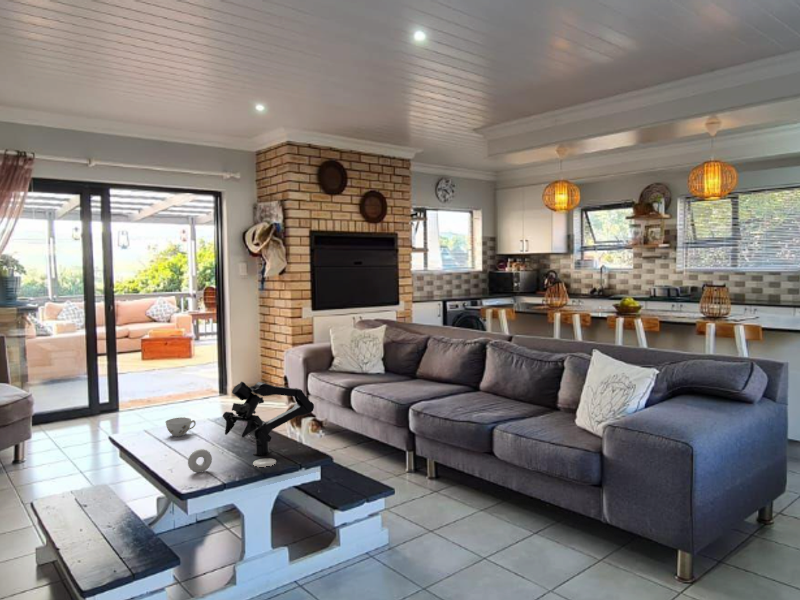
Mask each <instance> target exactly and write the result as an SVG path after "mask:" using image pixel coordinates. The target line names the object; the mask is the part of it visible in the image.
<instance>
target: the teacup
mask: <svg viewBox="0 0 800 600" xmlns="http://www.w3.org/2000/svg"><path fill="white" fill-rule="evenodd" d="M192 423H193V426H191V425H192ZM196 424H197V423H196V420H195V419H194V420H193V419H191V418H189V417H185V416H184V417H180V416H179V417H173V418H170V419H167V420H165V425H166V429H167V432H169V434H171V435H172V436H173V437H175V436H178V437H182V436H181V435H183V436H185V435H184V434H186V433H188V431H189V430H192V429H194V427H196Z"/></svg>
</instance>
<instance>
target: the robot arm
mask: <svg viewBox="0 0 800 600" xmlns="http://www.w3.org/2000/svg"><path fill="white" fill-rule="evenodd" d="M231 393H232V395H234V396H235V397H236V398H238V399H239V400H240V401H244V403H235V402H234V403H233V404H232V407H231V411H224V412H223V415H222V418H223V419H224V420H225V422H226V423H225V430H224V435H226V436H227V435H228V434H229V433H230V432H231V430H232V429H233V428H234V427H235V425H236V424H235V423H236V422H237V421H239V422H245V423H246V425H245V428H244V430H243V432H242V433H241V437H242V438H245V437H246V436H247V435H250V436H251V437H252V439H254V440H255V452H253V456H267V455H269V454H270V453H271V452H272V449H269V448H270V447H269V442H271V440H272V436H271V435H270V433H271V432H272V431H273V430H275V429H276V428H278V427H280V426H282V425H283V424H286V423H287V422H289V421H291V420H293V419H295V418H296V417H299V416H306V415H308V414H311V413H312V412H314V409H315V405H314V403H313V402H312V401H311V400H310V399H309V398H308V396H306V394H305V393H304V391H303V390H302V389H299V388H297V387H295V388H293V387H286V386H285V387H284V386H275V385H272V384H269V383H265V382H263V381H262V382H261V381H258V382H257V383H255V385H251V386H248V385H247V384H246V383H245V382H244V381H240V383H238V384H236V385H235V386H234V387H233V389H232V390H231ZM274 395H276V396H285V397H286V396H287V397H293V398H294V400H295V402H296V403H295V404H294V405H293V407H292V408H290V409H288V410H286V411H285V412H283V413H281V414H278V415H277V416H275V417H273V418H271V419H269V420H267V421H264V420H262V418H260V416H259V415H256V413H257V412H256V409H257V407H258V405H260V404H264V403H265V401H264V397H268V396H269V397H270V396H274ZM232 411H233V412H232ZM234 412H235V414H236V415H235V414H234ZM268 453H269V454H268Z"/></svg>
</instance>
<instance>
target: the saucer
mask: <svg viewBox="0 0 800 600" xmlns="http://www.w3.org/2000/svg"><path fill="white" fill-rule="evenodd" d="M274 464H275V465H277V460H276V459H275V458H270V457H269V458H260V459H256V460H254V461H253V463H252V466H253V465H254V466H253V467H255V466H257V467H256V468H259V467H264V468H267V467H266V466H270V467H273V466H275V465H274ZM272 465H273V466H272Z"/></svg>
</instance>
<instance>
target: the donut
mask: <svg viewBox="0 0 800 600" xmlns="http://www.w3.org/2000/svg"><path fill="white" fill-rule="evenodd" d="M199 458H202V459H203V462H201V463H200V464H198V463H197V460H198V459H199ZM212 461H213V457H212V454H211V452H210V451H208V450H207V449H204V448H199V449H196V450H194V451H192V452H191V454H190V455H189V457H188V460H187V466H188V468H189V470H191V471H192V472H193V473H203V472H205V471H207V470H208V469H209V468H210V467H211V465H212Z"/></svg>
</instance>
